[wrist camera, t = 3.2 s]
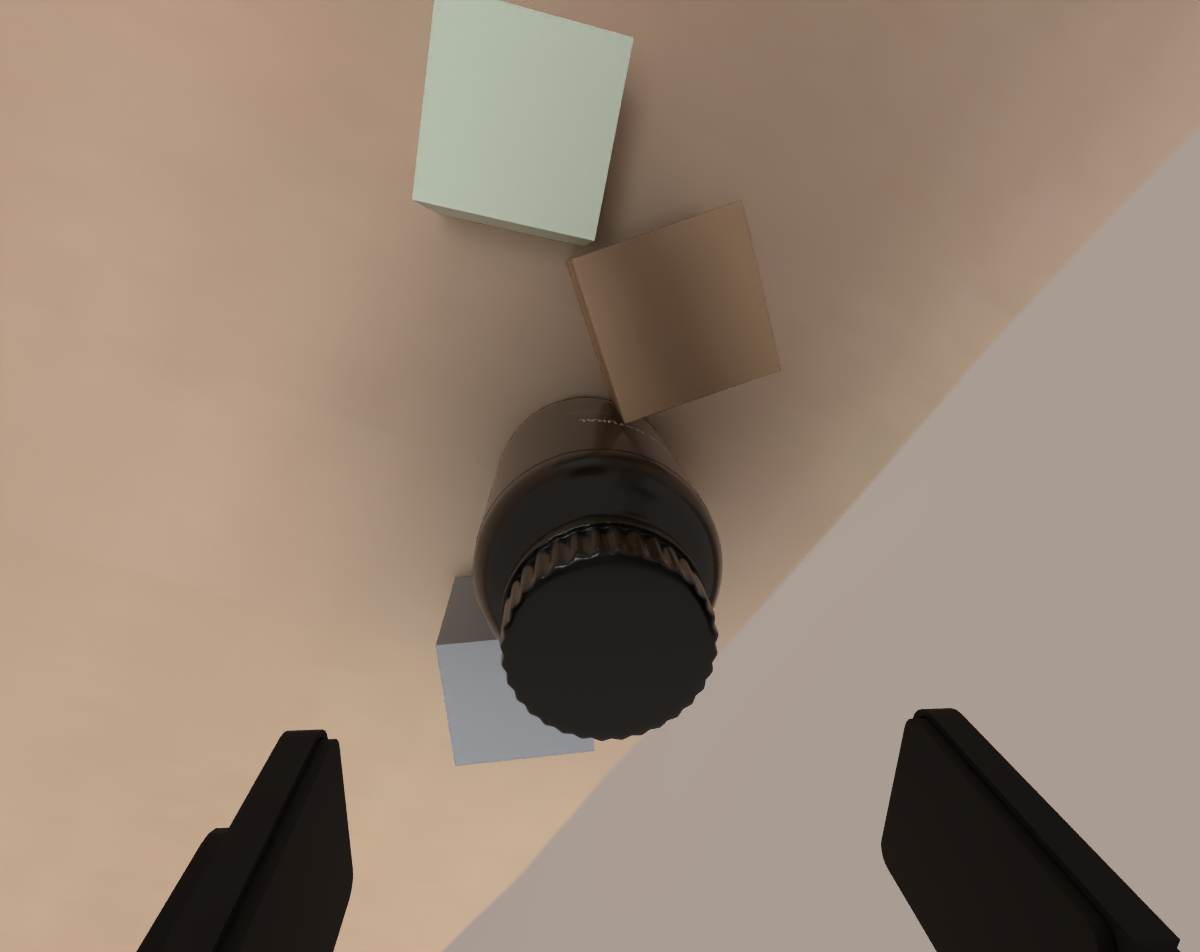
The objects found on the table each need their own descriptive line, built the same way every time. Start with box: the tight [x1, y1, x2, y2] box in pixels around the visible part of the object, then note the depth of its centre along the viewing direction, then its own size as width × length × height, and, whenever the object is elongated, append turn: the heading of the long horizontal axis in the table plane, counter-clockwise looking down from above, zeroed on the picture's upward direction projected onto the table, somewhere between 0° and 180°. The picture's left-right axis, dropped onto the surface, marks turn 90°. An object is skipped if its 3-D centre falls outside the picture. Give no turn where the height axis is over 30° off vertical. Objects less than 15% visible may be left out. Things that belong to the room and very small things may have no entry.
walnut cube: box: [566, 200, 781, 423], centre depth 21 cm, size 5×5×5 cm
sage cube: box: [412, 0, 634, 247], centre depth 19 cm, size 5×5×5 cm
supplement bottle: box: [473, 398, 722, 741], centre depth 19 cm, size 7×7×12 cm
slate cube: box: [436, 576, 594, 766], centre depth 24 cm, size 5×5×5 cm
